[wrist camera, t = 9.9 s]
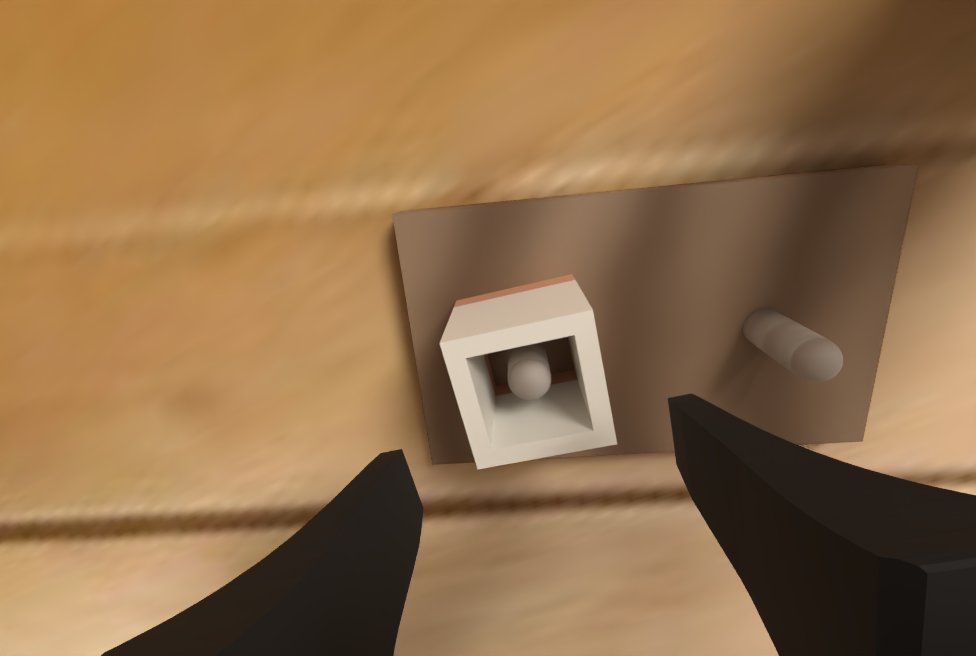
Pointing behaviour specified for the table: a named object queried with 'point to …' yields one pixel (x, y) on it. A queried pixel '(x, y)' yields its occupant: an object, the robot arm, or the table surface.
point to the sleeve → (496, 409)
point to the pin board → (679, 298)
